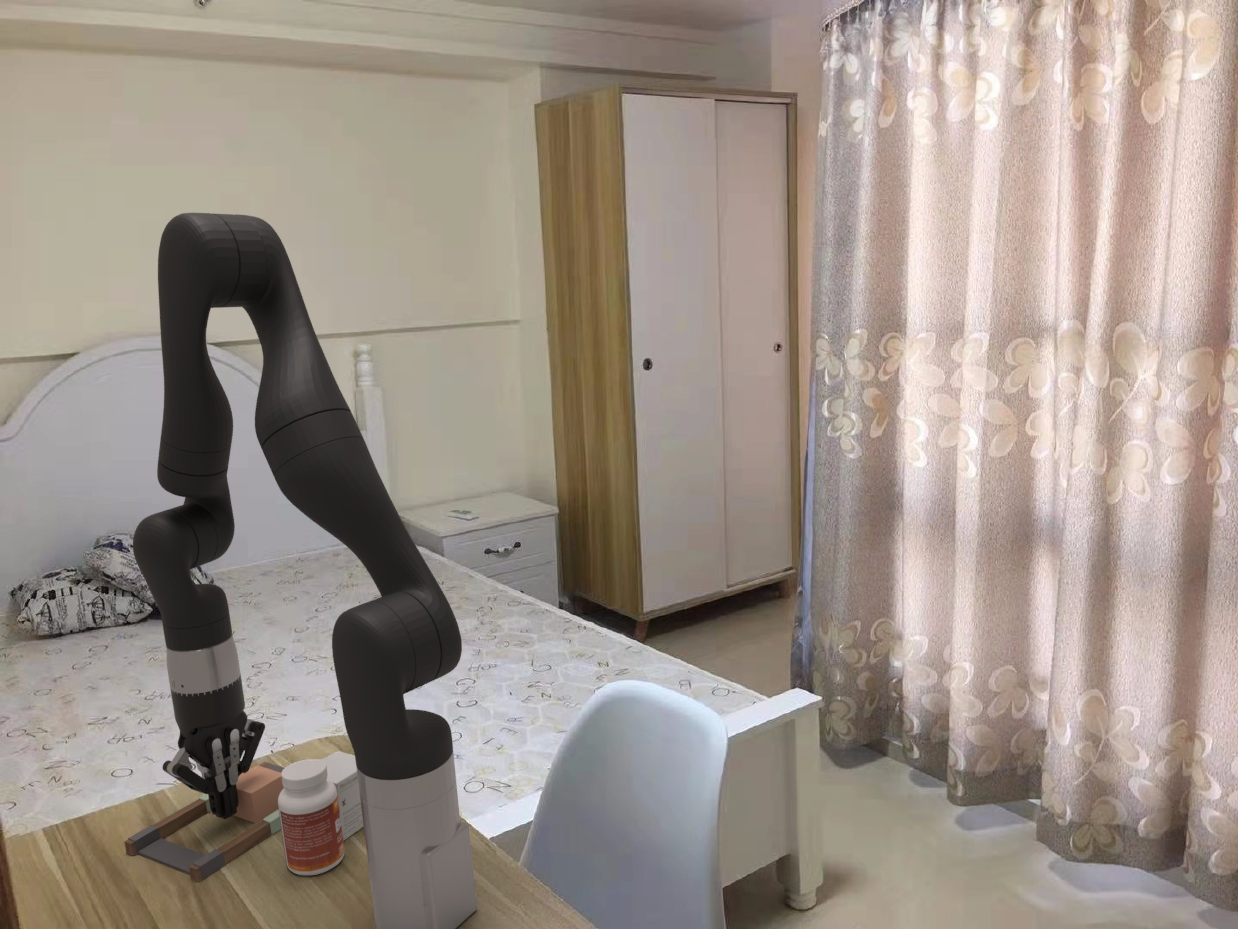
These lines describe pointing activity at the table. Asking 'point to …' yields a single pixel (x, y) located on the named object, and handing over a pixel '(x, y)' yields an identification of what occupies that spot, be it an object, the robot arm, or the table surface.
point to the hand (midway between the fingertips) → (226, 815)
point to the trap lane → (189, 860)
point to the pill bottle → (310, 818)
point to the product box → (346, 790)
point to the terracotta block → (258, 793)
